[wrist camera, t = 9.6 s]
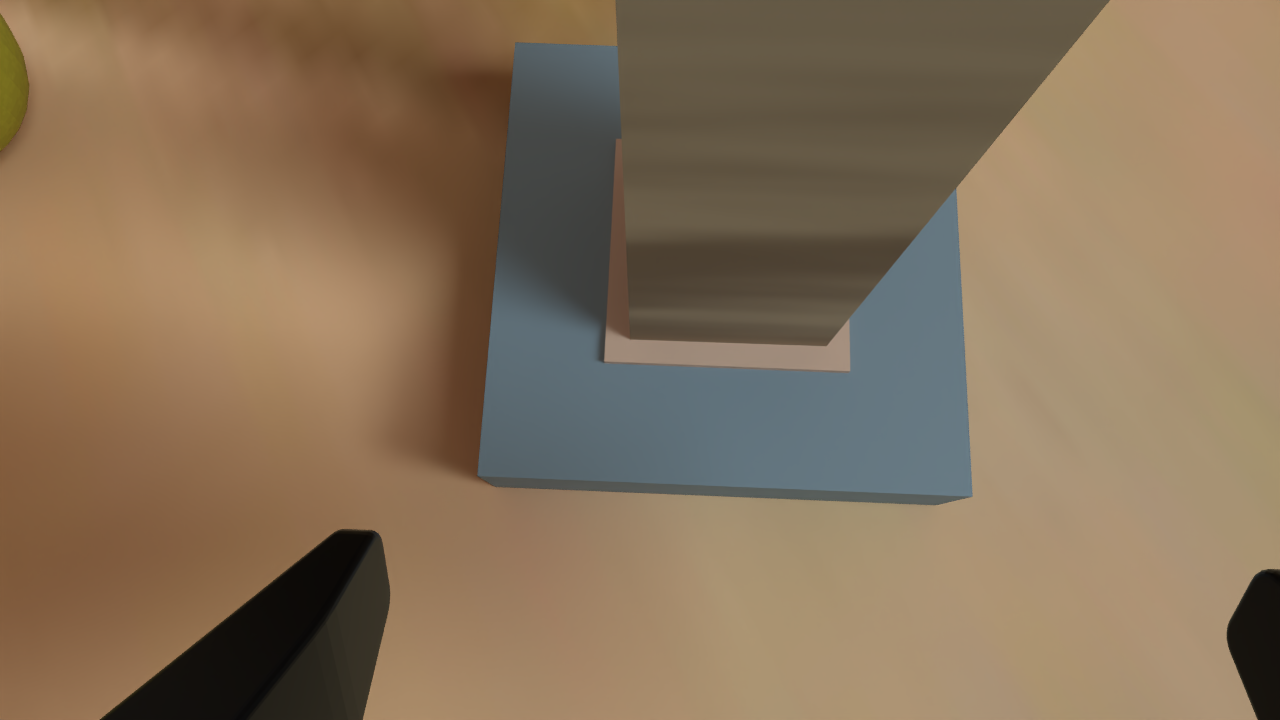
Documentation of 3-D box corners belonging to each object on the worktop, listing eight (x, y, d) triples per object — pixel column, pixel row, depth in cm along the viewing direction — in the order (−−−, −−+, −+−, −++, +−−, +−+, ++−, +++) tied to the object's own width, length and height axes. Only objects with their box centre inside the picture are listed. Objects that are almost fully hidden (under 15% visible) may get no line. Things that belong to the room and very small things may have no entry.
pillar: (826, 346, 20) (1166, -70, 7) (629, 339, 20) (611, -87, 7) (823, 166, 21) (1111, -475, 8) (637, 160, 21) (632, -487, 8)
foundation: (935, 505, 21) (976, 495, 19) (494, 486, 21) (475, 475, 19) (919, 108, 24) (951, 53, 21) (527, 93, 24) (514, 37, 21)
